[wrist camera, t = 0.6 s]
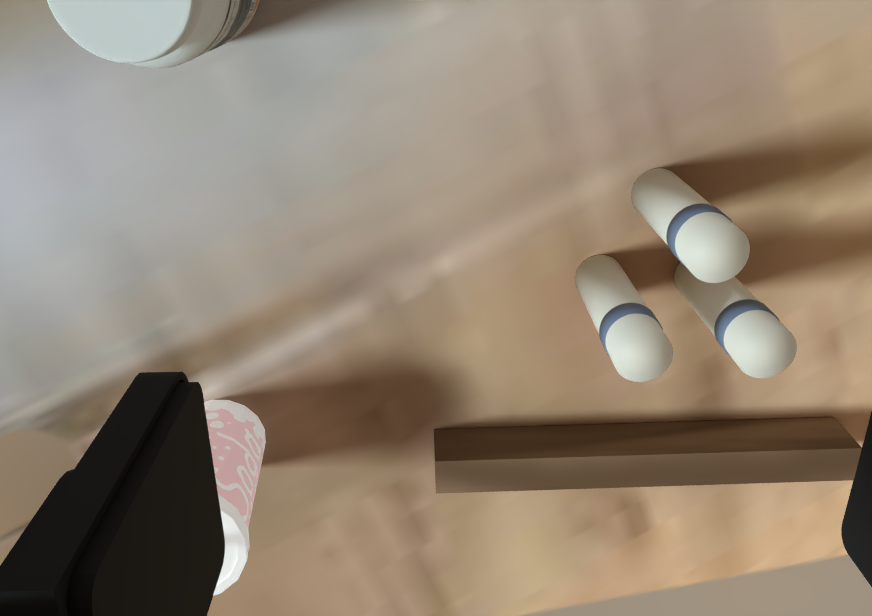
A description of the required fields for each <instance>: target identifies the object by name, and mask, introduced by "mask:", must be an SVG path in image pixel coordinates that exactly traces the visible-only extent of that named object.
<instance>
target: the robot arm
mask: <svg viewBox="0 0 872 616" xmlns="http://www.w3.org/2000/svg"><path fill="white" fill-rule="evenodd" d="M842 540H843V544H844V547H845V549H846V551H847V553H848V554H849V556H850V557H851V558H852V560H853V561H854V563H855V564H856V566H857V567H858V568H859V570H860V571H861V573H862V574H863V575H864V577H865V578H866V580H867V581H868V582H869V584H870V585H871V587H872V412H871V416H870V420H869V424H868V427H867V431H866V435H865V439H864V443H863V447H862V450H861V454H860V458H859V462H858V466H857V469H856V473H855V477H854V481H853V485H852V489H851V492H850V496H849V500H848V504H847V508H846V511H845V515H844V519H843V523H842ZM224 555H225V537H224V530H223V524H222V517H221V510H220V504H219V497H218V491H217V484H216V478H215V471H214V465H213V458H212V452H211V445H210V438H209V432H208V425H207V419H206V412H205V406H204V399H203V393H202V388H201V386H200V384H199V383H198V382H188V379H187V377H186V375H185V374H184V373H183V372H147V373H139V374H138V375H137V376H136V377H135V379H134V380H133V382H132V383H131V385H130V386H129V388H128V389H127V391H126V392H125V394H124V395H123V397H122V398H121V400H120V401H119V403H118V404H117V406H116V407H115V409H114V410H113V412H112V413H111V415H110V416H109V418H108V419H107V421H106V422H105V424H104V425H103V427H102V428H101V430H100V431H99V433H98V434H97V436H96V437H95V439H94V440H93V442H92V443H91V445H90V446H89V448H88V449H87V451H86V452H85V454H84V455H83V457H82V458H81V460H80V461H79V463H78V464H77V466H76V468H75V469H73V470H70V471H67V472H66V473H65V474H64V475H63V476H62V477H61V478H60V479H59V481H58V482H57V484H56V485H55V486H54V488H53V489H52V491H51V492H50V494H49V495H48V497H47V498H46V500H45V501H44V503H43V504H42V505H41V507H40V508H39V510H38V511H37V513H36V514H35V516H34V517H33V519H32V520H31V522H30V523H29V525H28V526H27V527H26V529H25V530H24V532H23V533H22V535H21V536H20V538H19V539H18V541H17V542H16V544H15V545H14V546H13V548H12V549H11V551H10V552H9V554H8V555H7V557H6V558H5V560H4V561H3V563H2V564H1V566H0V616H207V613H208V610H209V607H210V604H211V601H212V597H213V594H214V591H215V588H216V585H217V582H218V579H219V575H220V572H221V569H222V566H223V562H224Z"/></svg>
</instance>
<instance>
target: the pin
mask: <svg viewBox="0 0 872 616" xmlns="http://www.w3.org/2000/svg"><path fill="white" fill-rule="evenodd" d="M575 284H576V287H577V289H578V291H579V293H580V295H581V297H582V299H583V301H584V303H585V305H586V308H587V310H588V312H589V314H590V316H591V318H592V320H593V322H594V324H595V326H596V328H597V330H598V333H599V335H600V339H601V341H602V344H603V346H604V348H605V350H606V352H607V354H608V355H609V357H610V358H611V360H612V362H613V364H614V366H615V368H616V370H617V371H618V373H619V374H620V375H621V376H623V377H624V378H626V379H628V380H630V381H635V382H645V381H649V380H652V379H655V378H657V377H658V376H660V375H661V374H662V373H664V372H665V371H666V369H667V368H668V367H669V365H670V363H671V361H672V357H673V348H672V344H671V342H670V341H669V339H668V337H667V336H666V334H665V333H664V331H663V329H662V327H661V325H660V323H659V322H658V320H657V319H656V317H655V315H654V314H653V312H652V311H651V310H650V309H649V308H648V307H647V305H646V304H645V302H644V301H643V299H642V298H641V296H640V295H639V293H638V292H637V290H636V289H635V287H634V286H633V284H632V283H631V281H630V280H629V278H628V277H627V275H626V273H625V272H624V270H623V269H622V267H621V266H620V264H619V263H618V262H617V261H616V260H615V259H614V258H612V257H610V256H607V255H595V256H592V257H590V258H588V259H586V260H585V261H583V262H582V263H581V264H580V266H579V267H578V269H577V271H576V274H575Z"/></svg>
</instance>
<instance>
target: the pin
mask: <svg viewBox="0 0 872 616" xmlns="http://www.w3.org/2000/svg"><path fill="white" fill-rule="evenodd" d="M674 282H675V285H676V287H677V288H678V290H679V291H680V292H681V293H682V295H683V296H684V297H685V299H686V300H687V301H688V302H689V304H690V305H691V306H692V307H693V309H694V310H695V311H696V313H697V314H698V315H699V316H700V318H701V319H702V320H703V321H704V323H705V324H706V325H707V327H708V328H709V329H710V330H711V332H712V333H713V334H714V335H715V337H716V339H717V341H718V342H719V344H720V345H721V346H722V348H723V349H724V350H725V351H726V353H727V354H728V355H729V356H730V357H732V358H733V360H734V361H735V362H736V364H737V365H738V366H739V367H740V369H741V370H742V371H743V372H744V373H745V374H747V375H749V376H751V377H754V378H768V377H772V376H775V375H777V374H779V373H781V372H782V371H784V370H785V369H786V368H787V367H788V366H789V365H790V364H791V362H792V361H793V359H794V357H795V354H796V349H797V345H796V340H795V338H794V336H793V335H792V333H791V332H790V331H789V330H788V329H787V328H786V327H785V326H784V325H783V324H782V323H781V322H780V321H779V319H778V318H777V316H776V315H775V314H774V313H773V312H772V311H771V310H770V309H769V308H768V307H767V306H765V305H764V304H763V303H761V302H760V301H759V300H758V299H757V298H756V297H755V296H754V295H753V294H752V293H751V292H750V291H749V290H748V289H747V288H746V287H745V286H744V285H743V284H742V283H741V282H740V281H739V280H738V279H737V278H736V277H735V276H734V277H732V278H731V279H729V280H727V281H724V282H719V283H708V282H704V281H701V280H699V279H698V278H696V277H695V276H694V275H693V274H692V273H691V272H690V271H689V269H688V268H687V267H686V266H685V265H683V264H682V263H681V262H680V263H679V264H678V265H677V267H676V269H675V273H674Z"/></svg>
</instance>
